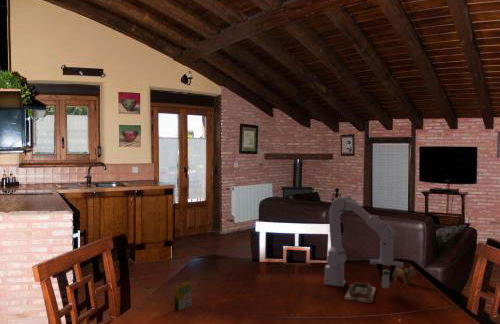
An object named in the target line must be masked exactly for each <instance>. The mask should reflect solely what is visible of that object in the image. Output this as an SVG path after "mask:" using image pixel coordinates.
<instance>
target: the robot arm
mask: <svg viewBox="0 0 500 324" xmlns="http://www.w3.org/2000/svg"><path fill="white" fill-rule="evenodd" d="M345 211H348V212H353V213H355V214H356V215H357V216H359V217H360V218H361V219H363V220H364V221H365V222H366V225H367V226H368V227H370V228H371V229H372V230H374V231H375V232H376V233H377V234H378V237H379V238H380V244H379V245H380V247H379V259H375V258H374V259H371V258H370V260H369V265H376V269H377V271H378V273H379V277H380V281H381V282H382V274H383V270H384V268H383V267H384V266H386V267H387V266H388V267H389V271H390V277H389V282H390V283H391V282H392V278H393V277H392V275H393V273H394V271H395V269H396V267H399V268H400V269H404V262H402V261H401V262H400V261H398V260H397V261H396V260H394V236H396V228H395V227H394V226H393V225H391V224H388V223H387V222H385V221H383V220H382V219H380V216H379V215H375V214H371V213H369V212H368V211H367V210H365V209H364V208H363V207H362V206H361V205H360V204H359V203H357V202H356V200H355V199H353V198H352V197H350V196H348V195H345V196H340V197H335V198H334V199H333V200H332V201H331V205H330V208H329V210H328V224H329V237H330V239H329V240H330V248H329V250H328V254H327V258H326V262H327V264H325V266H324V283H323V284H324V285H327V286H334V287H344V286H345V284H346V282H347V281H346V280H345V263H346V261H347V258H348V257H347V255H346V252H345V248H344V247H343V243H342V229H341V228H342V226H341V215H342V214H343V213H345ZM394 274H395V273H394ZM393 276H394V275H393Z"/></svg>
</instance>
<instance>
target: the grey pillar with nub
mask: <svg viewBox="0 0 500 324" xmlns="http://www.w3.org/2000/svg"><path fill="white" fill-rule="evenodd" d="M389 277H390V269H389V270H388V269H383V274H382V281H381V288H382V289H389V288H390V283H391V282H389Z"/></svg>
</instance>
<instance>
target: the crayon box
mask: <svg viewBox="0 0 500 324" xmlns="http://www.w3.org/2000/svg"><path fill="white" fill-rule="evenodd" d="M173 289H174V290H173V291H174V293H173V295H174V310H175V311H179V312H180V311H182V310H184V309H186V308H189V307H192V279H189V280H186V281H183V282H180V283H178V285H176V286H173Z"/></svg>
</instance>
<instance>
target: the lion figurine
mask: <svg viewBox="0 0 500 324" xmlns="http://www.w3.org/2000/svg"><path fill="white" fill-rule="evenodd" d="M416 275H417V270H416V269H415V267H413V266H410V267H407V268H401V267H396V269H395V271H394V273H393V275H392V278H393V276H394V282H398V277H397V276H399V277H402V278H403V284H404V285H405V286H407V285H408V284H410V282H409V280H412V278H414V277H416Z"/></svg>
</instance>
